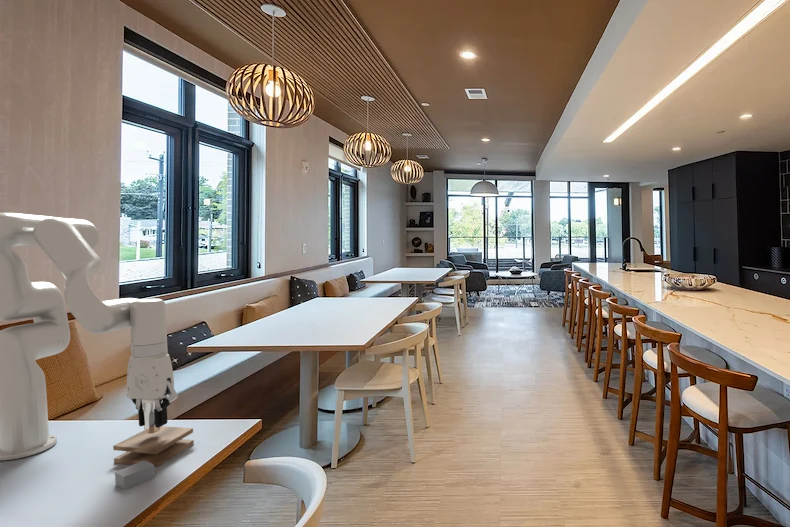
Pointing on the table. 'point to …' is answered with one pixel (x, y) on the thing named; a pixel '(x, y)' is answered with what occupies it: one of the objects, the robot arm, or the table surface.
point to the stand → (154, 446)
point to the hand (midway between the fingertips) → (153, 424)
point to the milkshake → (149, 415)
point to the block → (134, 474)
